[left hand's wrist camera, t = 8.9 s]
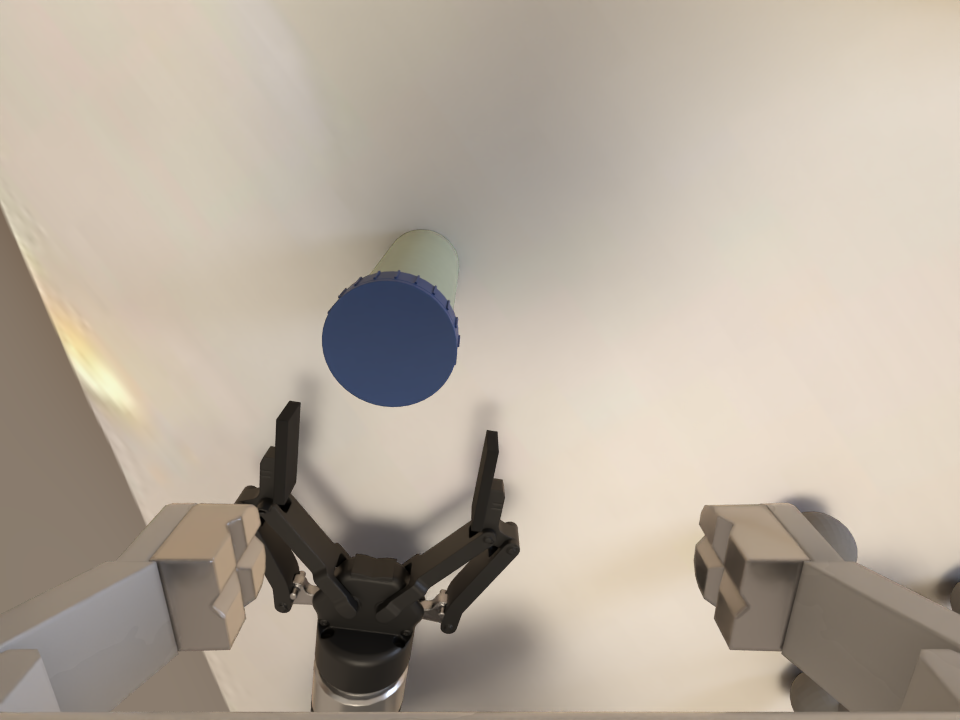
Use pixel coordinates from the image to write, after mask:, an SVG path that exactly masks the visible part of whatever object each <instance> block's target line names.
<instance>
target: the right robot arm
mask: <svg viewBox="0 0 960 720" xmlns="http://www.w3.org/2000/svg"><path fill="white" fill-rule="evenodd" d="M300 405H301V402H294V401H289V402H288V404H287V405H286V407H285V408H284V409H283V411H282V412H281V414H280V415H279V417H278V418H277V419H276V441H275V447H273V446H270V448H269V449H268V451H267V452H266V454H265V455H264V457H263V459H262V461H261V462H260V488H256V487H255V486H247V487H245V488H244V490H243V491H242V493H241V494H240V496H239V497H238V499H237V500H236V502H235V503H234V504H253V505H254V506H255V507H256V508H257V509H258V512H259V517H260V522H261V525H260V527H259V529H258V530H257V532H256V534H255V536H256V537H257V538H258V539H259V540H260V541H261V542H262V543H263V544H264V546H265V553H266V570H265V576H266V578H267V580H268V581H269V583H270V585H271V587H272V588H273V595H274V604H275V609H276V610H277V611H279V612H281V613H287V612H289V611H290V610H291V607H292V605H293V604H308V605H313V607H314V609H315V610H316V612H317V615H318V622H317V635H316V647H315V660H314V672H313V686H312V701H311V712H400V709H401V704H402V702H403V696H404V690H405V684H406V678H407V672H408V663H409V659H410V654H411V648H412V642H413V636H414V630H415V626H416V625H417V624H418V623H419V622H420V621H421V619H426V620H430V621H435V622H440V623H441V630H442V632H444V633H446V634H451V633H453V632H455V631H456V629H457V626H458V623H459V620H460V618H461V615H462V613H463V612H464V611H465V610H466V609H467V608H468V607H469V606H470V605H471V604H472V602H473V601H474V600H475V599H476V598H477V597H478V596H479V595H480V594H481V593H482V592H483V591H484V590H485V589H486V588H487V587H488V586H489V585H490V583H491V582H492V581H493V580H494V579H495V578H496V577H497V576H498V575H499V574H500V573H501V572H502V571H503V570H504V569H505V568H506V567H507V566H508V564H509V563H510V562H511V561H512V560H513V559H514V558H515V557H516V556H517V555H518V554H519V552H520V546H519V536H518V527H517V525H516V524H515V523H513V522H506V523H505V522H503V521H501V520H500V517H501V513H502V508H503V504H504V499H505V493H504V484H503V480H501V479H494V478H493V477H494V472H495V468H496V463H497V458H498V453H499V448H498V433H497V432H496V431H489V430H487V432H486V437H485V442H484V447H483V452H482V457H481V462H480V467H479V472H478V477H477V482H476V487H475V492H474V497H473V502H472V515H471V521H470V522H468V523H467V524H465V525H464V526H462V527H461V528H460V529H458V530H457V531H455V532H454V533H452V534H451V535H449V536H448V537H447V538H445V539H444V540H442V541H441V542H439V543H438V544H437V545H435V546H434V547H432V548H431V549H429V550H428V551H426V552H425V553H424V554H422V555H420V554H416V555H415V556H413V557H412V558H411V559H409V560H408V561H406V562H405V563H403V564H402V565H401V564H399V563H397V562H396V561H397V559H392V558H378V559H376V558H373V557H370V556H367V555H362V554H356V556H355V557H350V556H349V555H348V553H347V552H346V551H345V550H344V549H343V548H342V546H341V545H340V544H339V543H335V544H334V543H333V542H332V541H331V540H330V539H329V537H328V536H327V535H326V534H325V533H324V532H323V530H322V529H321V528H320V527H319V526H318V525H317V523H316V522H315V521H314V520H313V519H312V518H311V516H310V515H309V514H308V513H307V512H306V511H305V509H304V508H303V507H302V506H301V505H300V504H299V502H298V501H297V500H296V499H295V498H294V497H293V496H292V494H291V491H292V489H293V487H294V485H295V483H296V476H297V458H298V441H299V423H300ZM292 551H293V552H294V553H295V554H296V555H297V556H298V558H299V559H300V560H301V561H302V562H303V563H304V564H305V565H306V566H307V568H308V569H309V570H310V571H311V572H312V574H313V580H314V582H315V584H316V585H317V586H313V585H311V584H310V583H309V582H308V581H307V578H306V577H305V576H306V573H305V572H304V571H299V566H298V563H297V560H296V558H295V556H294V554H293V552H292ZM467 562H468V564H467V565H466V566H465V567H464V568H463V569H462V570H461V571H460V572H459V573H458V574H457V576H456V577H455V578H454V579H453V580H452V581H451V583H450V584H449V586H448V588H447V591H446V590H444V589H442V590H440V594H438V595H437V596H436V597H435V598H434V599H433V600H429V601H428V600H425V596H424V595H425V594H426V592H427V591H428V589H429V588H430V587H431V586H433V585H434V584H436V583H437V582H439V581H440V580H442V579H443V578H445V577H446V576H448V575H449V574H451V573H452V572H454V571H455V570H457V569H458V568H460V567H461V566H463V565H464V564H466V563H467Z"/></svg>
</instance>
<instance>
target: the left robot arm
mask: <svg viewBox="0 0 960 720" xmlns="http://www.w3.org/2000/svg"><path fill="white" fill-rule="evenodd" d="M260 525H261V522H260V517H259V512H258V509H257V508H256V507H255V506H254V505H253V504H210V503H200V504H197V503H172V504H169V505H166V506H165V507H164V508H163V509H162V510H161V511H160V512H159V513H158V514H157V515H156V516H155V518H154V519H153V520H152V521H151V522H150V523H149V524H148V525H147V526H146V528H145V529H144V530H143V531H142V532H141V533H140V534H139V535H138V536H137V538H136V539H135V540H134V541H133V542H132V543H131V544H130V545H129V546H128V548H127V549H126V550H125V551H124V552H123V553H122V554H121V555H120V556H119V558H118V559H117V560H116V561H113V562H112V561H111V562H104V563H102V564H100V565H98V566H96V567H94V568H92V569H90V570H88V571H86V572H84V573H82V574H80V575H78V576H76V577H74V578H72V579H70V580H68V581H66V582H64V583H62V584H60V585H58V586H56V587H54V588H52V589H50V590H48V591H46V592H44V593H42V594H40V595H38V596H36V597H34V598H32V599H30V600H28V601H26V602H24V603H22V604H20V605H18V606H16V607H14V608H12V609H10V610H8V611H6V612H4V613H2V614H0V720H960V614H958V613H956V612H954V611H952V610H950V609H948V608H946V607H944V606H942V605H940V604H938V603H936V602H934V601H932V600H930V599H928V598H926V597H924V596H922V595H920V594H918V593H916V592H914V591H912V590H910V589H908V588H906V587H904V586H902V585H900V584H898V583H896V582H894V581H892V580H890V579H888V578H886V577H884V576H882V575H880V574H878V573H876V572H874V571H872V570H870V569H868V568H866V567H864V566H862V565H860V564H858V563H856V562H849V561H844V560H843V559H842V558H841V556H840V555H839V554H838V553H837V552H836V551H835V550H834V549H833V548H832V546H831V545H830V544H829V543H828V542H827V541H826V540H825V539H824V538H823V536H822V535H821V534H820V533H819V532H818V531H817V530H816V529H815V528H814V526H813V525H812V524H811V523H810V522H809V521H808V520H807V519H806V518H805V516H804V515H803V514H802V513H801V512H800V511H799V510H798V509H797V508H796V506H794V505H792V504H790V503H767V504H748V505H705V506H704V508H703V510H702V512H701V516H700V522H699V525H700V527H701V529H702V530H703V532H704V534H705V536H704V537H703V538H702V539H701V540H700V541H699V542H698V543H697V544H696V547H695V555H694V568H695V577H696V580H697V584H698V587H699V589H700V591H701V593H702V596H703V598H704V599H705V600H707V601H708V602H709V603H711V604H712V605H714V606H715V607H716V609H715V615H714V620H715V622H716V623H717V625H718V627H719V629H720V631H721V633H722V635H723V637H724V639H725V641H726V643H727V645H728V647H729V649H730V650H755V651H782V653H781V654H782V655H784V656H785V657H786V658H787V659H788V660H789V661H791V662H792V663H793V664H794V665H795V666H797V667H798V668H799V669H800V670H801V671H803V672H804V673H805V674H806V675H807V676H808V677H810V678H811V679H812V680H813V681H814V682H816V683H817V684H818V685H819V686H820V687H822V688H823V689H824V690H825V691H826V692H827V693H829V694H830V695H831V696H832V697H833V698H835V699H836V700H837V701H838V702H839V703H841V704H842V705H843V706H844V707H845V708H846V709H848V710H849V711H850V712H110V711H111V710H112V709H114V708H115V707H116V706H117V705H118V704H120V703H121V702H122V701H123V700H124V699H126V698H127V697H128V696H129V695H130V694H131V693H133V692H134V691H135V690H136V689H137V688H139V687H140V686H141V685H142V684H143V683H145V682H146V681H147V680H148V679H149V678H150V677H152V676H153V675H154V674H155V673H157V672H158V671H159V670H160V669H161V668H162V667H164V666H165V665H166V664H167V663H168V662H170V661H171V660H172V659H173V658H174V657H176V656H177V655H178V651H204V650H230V649H231V647H232V645H233V643H234V641H235V639H236V637H237V635H238V633H239V631H240V629H241V627H242V625H243V623H244V622H245V620H246V615H245V609H244V607H245V606H246V605H248V604H249V603H250V602H252V601H253V600H255V599H256V598H257V595H258V593H259V591H260V589H261V587H262V584H263V579H264V575H265V570H266V553H265V546H264V544H263V543H262V542H261V541H260V540H259V539H258V538H257V537H256V536H255V534H256V532H257V530H258V529H259V527H260Z"/></svg>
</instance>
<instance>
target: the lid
mask: <svg viewBox="0 0 960 720" xmlns="http://www.w3.org/2000/svg"><path fill="white" fill-rule="evenodd" d="M338 298H339V299H338V301H337V302H336V303H335V304H334V305H333V306H332V308H331V309H330V310H329V311H328V316H327V318H326V320H325V324H324V327H323V333H322V347H323V353H324V357H325V360H326V363H327V365H328V367H329V369H330V371H331V373H332V374H333V376H334V377H335V378H336V380H337V381H338V382H339V383H340V384H341V385H342V386H343V387H344V388H345V389H346V390H347V391H349V392H350V393H351V394H353V395H354V396H356V397H358V398H359V399H361V400H364V401H366V402H369V403H372V404H375V405H380V406H386V407H401V406H408V405H411V404H415V403H418V402H420V401H423V400H425V399H426V398H428V397H430V396H432V395H433V394H434V393H435V392H437V391H438V390H439V389H440V388H441V387H442V386H443V385H444V383H445V382H446V381H447V379H448V378H449V376H450V374H451V372H452V370H453V367H454V365H456V359H457V347H459V344H460V335H458V325H457V324H458V317H455V314H454V311H453V309H452V307H451V305H450V300H447V299H446V297H445V296H444V295H443V294H442V293H441V292H440V291H439V290H438V289H437V286H436V285H435V286H433V285H432V284H430V283H429V282H428V281H426V280H424V279H422V278H420V275H418V276H415V275H412V274H409V273H404V272H400V270H398V271H385V272H380V271H378V272H377V273H374V274H371V275H368V276H366V277H364V278H362V277H360V278H359V279H358V280H357V281H356V282H355V283H354V284H352V285H351V286H350V287H349V288H348V289H347V288H345V289H344V291H343V292H342V293H341V294H340V295H339V296H338Z"/></svg>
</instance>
